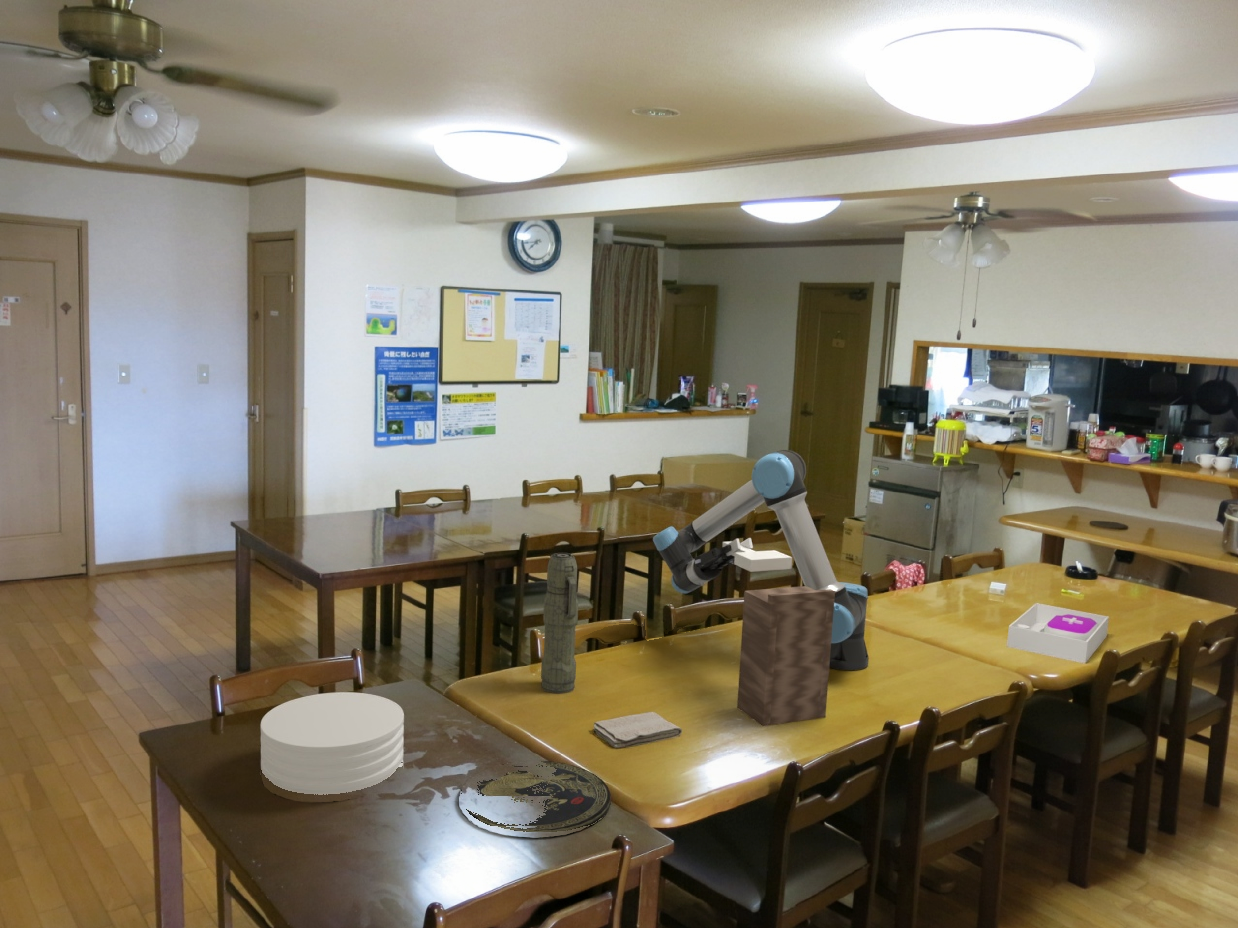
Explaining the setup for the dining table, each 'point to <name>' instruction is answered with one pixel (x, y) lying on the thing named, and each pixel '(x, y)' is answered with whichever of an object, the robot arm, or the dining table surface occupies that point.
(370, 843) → the dining table surface
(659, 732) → the washcloth
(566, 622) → the thermos
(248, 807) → the dining table surface
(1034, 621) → the white open tray
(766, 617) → the walnut stand
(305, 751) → the plate stack
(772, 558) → the beige stepped block
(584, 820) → the decorative plate
